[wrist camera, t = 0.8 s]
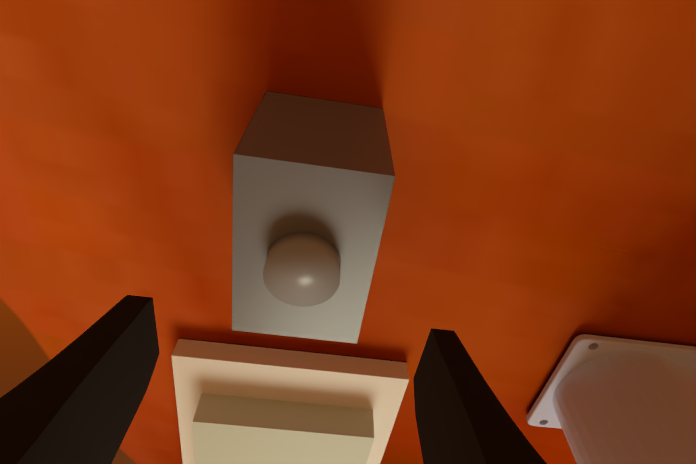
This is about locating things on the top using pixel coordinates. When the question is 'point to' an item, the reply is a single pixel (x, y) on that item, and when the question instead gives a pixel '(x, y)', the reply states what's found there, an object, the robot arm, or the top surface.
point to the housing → (308, 216)
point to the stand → (283, 405)
